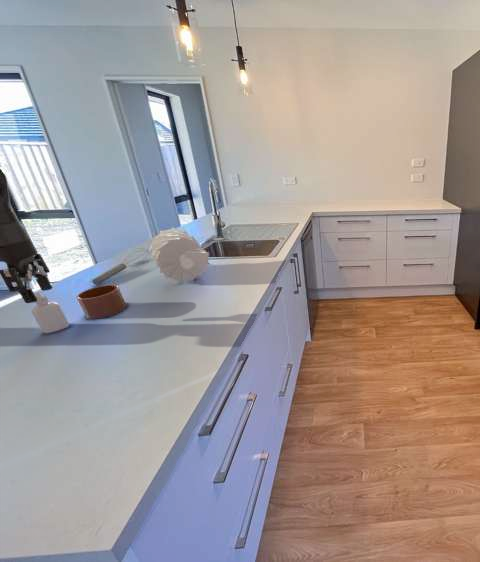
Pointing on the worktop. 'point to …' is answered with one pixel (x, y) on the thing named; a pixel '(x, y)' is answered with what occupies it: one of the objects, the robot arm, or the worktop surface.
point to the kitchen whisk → (114, 271)
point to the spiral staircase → (179, 255)
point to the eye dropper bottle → (49, 315)
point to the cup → (101, 301)
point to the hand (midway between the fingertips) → (40, 295)
